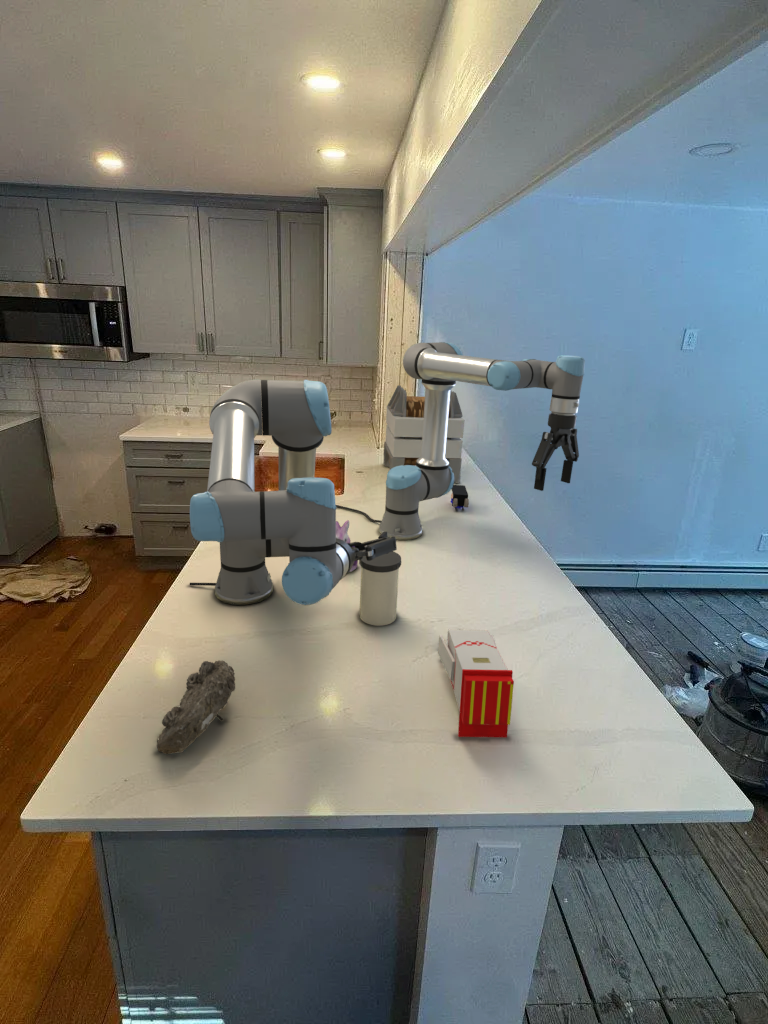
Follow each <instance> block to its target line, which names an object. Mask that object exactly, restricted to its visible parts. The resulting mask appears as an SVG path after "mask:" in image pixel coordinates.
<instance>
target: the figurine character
mask: <svg viewBox="0 0 768 1024" xmlns="http://www.w3.org/2000/svg"><path fill="white" fill-rule="evenodd" d="M449 502H450V504H451V506H452V507H453V508H454V511H456V512H457V511H458V509H461V511H462V512H464V511H465V508H469V505H470V500H469V492H468V490H467V488H466V485H464V484H463V485H461V484H453V487H452V489H451V494H450V501H449Z"/></svg>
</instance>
